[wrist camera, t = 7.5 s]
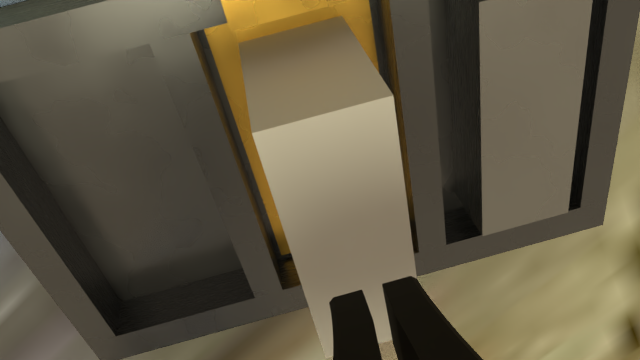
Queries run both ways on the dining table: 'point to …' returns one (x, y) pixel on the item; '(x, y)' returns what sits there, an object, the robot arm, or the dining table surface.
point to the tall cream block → (331, 165)
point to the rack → (243, 159)
